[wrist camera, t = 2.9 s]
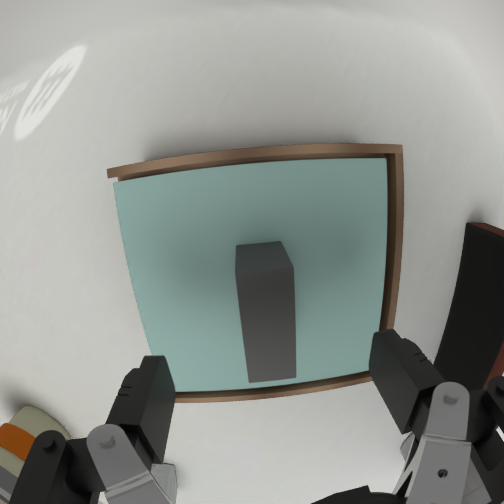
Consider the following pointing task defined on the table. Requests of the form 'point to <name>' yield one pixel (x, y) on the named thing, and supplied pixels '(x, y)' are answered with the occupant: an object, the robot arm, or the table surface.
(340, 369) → the cover plate
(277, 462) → the table surface
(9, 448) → the reusable coffee cup
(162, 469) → the small box
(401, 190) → the walnut box
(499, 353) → the radio
